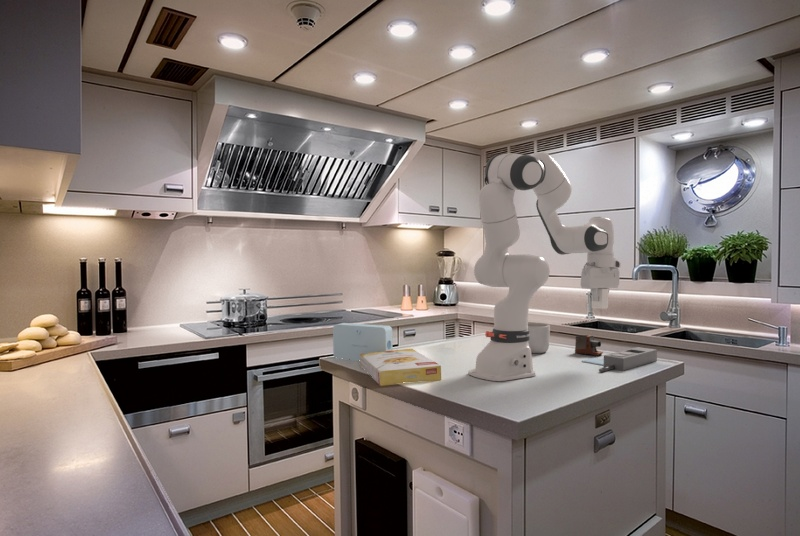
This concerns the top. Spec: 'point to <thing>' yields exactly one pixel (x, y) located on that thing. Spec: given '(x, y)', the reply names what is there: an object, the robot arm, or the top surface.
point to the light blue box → (360, 340)
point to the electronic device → (587, 345)
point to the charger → (601, 299)
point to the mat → (594, 361)
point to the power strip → (629, 358)
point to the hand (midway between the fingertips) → (599, 301)
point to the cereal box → (399, 367)
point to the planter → (539, 337)
